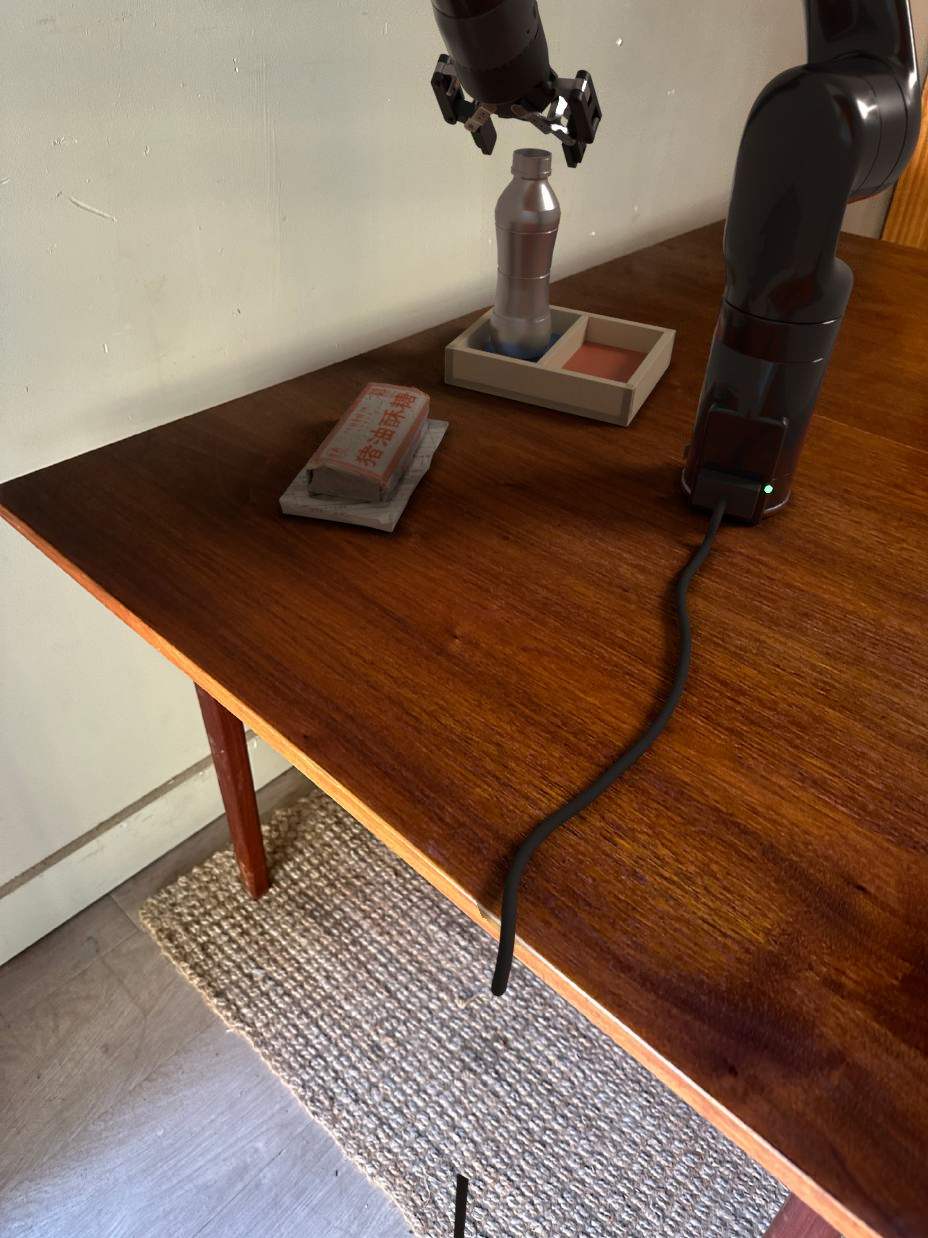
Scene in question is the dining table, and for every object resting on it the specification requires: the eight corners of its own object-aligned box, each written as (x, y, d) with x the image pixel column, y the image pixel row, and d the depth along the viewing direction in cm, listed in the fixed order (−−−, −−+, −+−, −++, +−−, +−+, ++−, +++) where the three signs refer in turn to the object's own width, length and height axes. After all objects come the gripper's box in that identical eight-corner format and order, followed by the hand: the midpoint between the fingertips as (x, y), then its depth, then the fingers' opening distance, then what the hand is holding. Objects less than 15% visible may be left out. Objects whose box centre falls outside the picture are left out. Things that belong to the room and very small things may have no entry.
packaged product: (348, 371, 86) (450, 386, 85) (350, 417, 89) (448, 432, 88) (273, 466, 73) (392, 485, 71) (279, 516, 76) (393, 536, 74)
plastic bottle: (544, 369, 96) (563, 164, 83) (481, 361, 97) (490, 157, 84) (553, 345, 101) (573, 147, 88) (494, 337, 102) (504, 141, 89)
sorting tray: (627, 426, 90) (633, 389, 87) (444, 383, 96) (445, 346, 93) (669, 364, 101) (676, 329, 98) (503, 329, 107) (505, 295, 104)
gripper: (391, 57, 72) (451, 178, 87) (561, 76, 68) (592, 201, 83) (422, -31, 72) (476, 106, 88) (592, -17, 68) (618, 125, 83)
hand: (532, 152), depth 85 cm, fingers open, 8 cm apart
